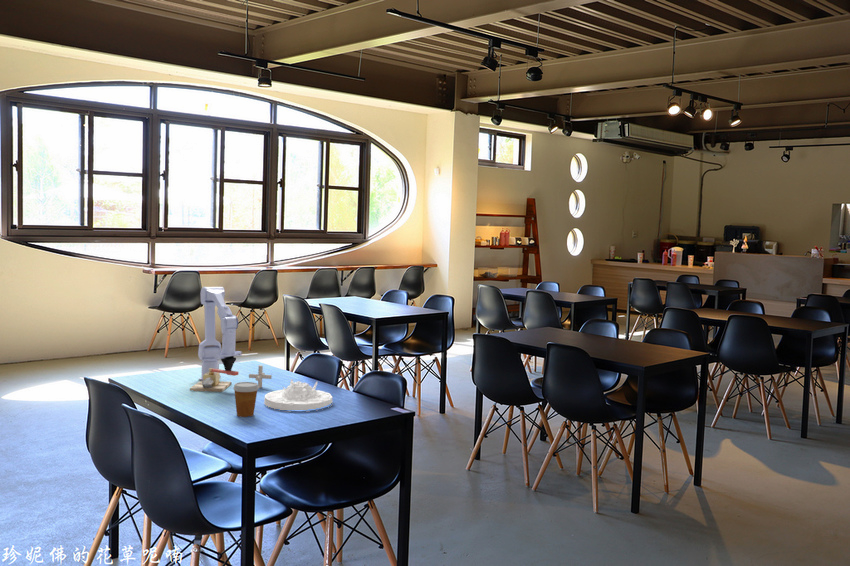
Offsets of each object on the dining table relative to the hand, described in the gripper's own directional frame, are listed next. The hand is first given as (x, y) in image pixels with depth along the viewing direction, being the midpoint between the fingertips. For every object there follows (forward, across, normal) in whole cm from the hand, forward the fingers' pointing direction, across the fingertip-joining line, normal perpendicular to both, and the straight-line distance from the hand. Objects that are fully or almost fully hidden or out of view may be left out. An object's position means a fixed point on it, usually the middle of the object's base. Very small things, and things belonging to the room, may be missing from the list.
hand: (228, 373), depth 315 cm
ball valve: (+7, -2, +8) cm, 11 cm away
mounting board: (+7, -2, +8) cm, 11 cm away
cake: (+8, -1, -41) cm, 42 cm away
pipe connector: (+7, +12, -9) cm, 16 cm away
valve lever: (0, -2, +1) cm, 2 cm away
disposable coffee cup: (+7, -29, -37) cm, 47 cm away
